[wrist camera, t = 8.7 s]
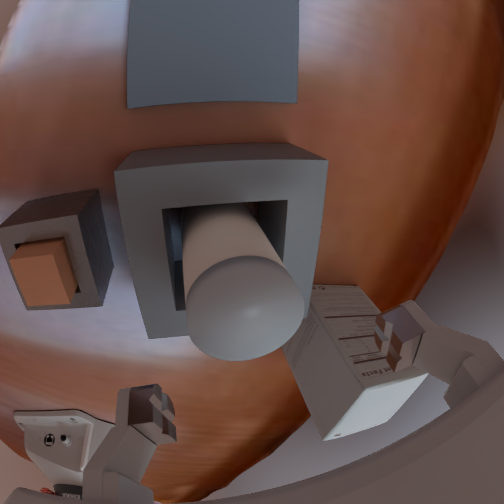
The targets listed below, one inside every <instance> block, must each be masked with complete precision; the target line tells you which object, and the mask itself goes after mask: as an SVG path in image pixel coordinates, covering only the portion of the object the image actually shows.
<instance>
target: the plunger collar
mask: <svg viewBox="0 0 504 504" xmlns="http://www.w3.org/2000/svg"><path fill="white" fill-rule="evenodd" d="M57 237H64V238H65V242H66V246H67V249H68V253H69V256H70V260H71V263H72V266H73V269H74V273H75V276H76V279H77V282H78V286H77V288H76V291H75V293H74V296H73V298H72V301H71V303H70V304H60V305H42V306H28V305H27V303H26V301H25V299H24V296H23V294H22V292H21V290H20V287H19V285H18V282H17V280H16V277H15V275H14V272H13V270H12V267H11V264H10V262H9V259H10V258H11V256H12V255H13V254H14V253H15V252H16V250H17V249H18V248H19V247H20V245H21V244H22V243H23V242H30V241H36V240H43V239H50V238H57ZM0 243H1V246H2V249H3V252H4V255H5V258H6V261H7V264H8V266H9V269H10V272H11V274H12V277H13V279H14V282H15V284H16V286H17V289H18V291H19V293H20V296H21V298H22V300H23V302H24V305H25V307H26V309H27V310H50V309H68V308H85V307H99V306H103V302H104V299H105V295H106V292H107V288H108V285H109V281H110V278H111V274H112V271H113V268H114V264H113V260H112V256H111V252H110V247H109V243H108V238H107V233H106V228H105V223H104V218H103V213H102V207H101V201H100V195H99V189H92V190H86V191H80V192H74V193H68V194H62V195H57V196H51V197H46V198H41V199H36V200H31V201H27V202H26V203H25V204H23V205H22V206H21V207H20V208H19V209H18V210H16V211H15V212H14V213H13V214H12V215H11V216H10V217H8V218H7V219H6V220H5V221H4V222H3V223H2V224H1V225H0Z"/></svg>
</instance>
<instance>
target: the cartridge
mask: <svg viewBox="0 0 504 504" xmlns="http://www.w3.org/2000/svg"><path fill="white" fill-rule="evenodd" d="M181 240H182V260H183V277H184V291H185V304H186V316H187V327H188V332H189V336H190V338H191V340H192V341H193V343H194V344H195V345H196V346H197V347H198V348H199V349H200V350H201V351H202V352H204V353H206V354H207V355H209V356H212V357H214V358H217V359H221V360H227V361H243V360H250V359H254V358H258V357H261V356H264V355H266V354H268V353H270V352H273V351H274V350H276V349H278V348H279V347H281V346H282V345H283V344H285V343H286V342H287V341H288V340H289V339H290V338H291V337H292V336H293V335H294V334H295V332H296V331H297V329H298V328H299V326H300V324H301V322H302V319H303V315H304V308H305V307H304V300H303V296H302V294H301V292H300V290H299V288H298V287H297V285H296V284H295V282H294V280H293V279H292V277H291V275H290V274H289V272H288V271H287V269H286V267H285V266H284V264H283V263H282V261H281V259H280V258H279V256H278V254H277V253H276V251H275V250H274V248H273V246H272V245H271V243H270V242H269V240H268V238H267V237H266V235H265V234H264V232H263V231H262V229H261V227H260V226H259V224H258V223H257V221H256V219H255V218H254V216H253V215H252V213H251V212H250V210H249V208H248V207H247V205H246V204H245V202H238V203H224V204H211V205H199V206H187V207H183V209H182V212H181Z"/></svg>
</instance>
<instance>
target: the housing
mask: <svg viewBox="0 0 504 504" xmlns="http://www.w3.org/2000/svg"><path fill="white" fill-rule="evenodd" d="M327 170H328V160H327V159H324V158H322V157H320V156H318V155H316V154H313V153H311V152H309V151H306V150H304V149H302V148H300V147H297V146H295V145H292V144H290V143H237V144H211V145H194V146H181V147H169V148H159V149H149V150H141V151H133V152H132V153H131V154H130V155H129V156H128V157H127V158H126V159H125V160H124V161H123V162H122V163H121V164H120V165H119V166H118V167H117V168H116V170H115V171H114V178H115V186H116V193H117V200H118V207H119V213H120V219H121V225H122V231H123V236H124V241H125V246H126V251H127V256H128V261H129V266H130V270H131V275H132V279H133V283H134V287H135V291H136V295H137V299H138V303H139V307H140V311H141V314H142V318H143V321H144V325H145V328H146V332H147V335H148V338H149V339H155V338H167V337H177V336H187V335H189V332H188V327H187V316H186V304H185V291H184V277H183V261H175V260H174V252H173V244H172V236H171V227H170V217H169V208H176V207H187V206H199V205H211V204H224V203H238V202H254V201H258V224H259V226H260V227H261V229H262V231H263V232H264V234H265V235H266V237H267V238H268V240H269V242H270V243H271V245H272V246H273V248H274V250H275V251H276V253H277V254H278V256H279V258H280V259H281V261H282V263H283V264H284V266H285V267H286V269H287V271H288V272H289V274H290V275H291V277H292V279H293V280H294V282H295V284H296V285H297V287H298V288H299V290H300V292H301V294H302V296H303V300H304V307H305V308H304V315H303V319H304V318H307V314H308V308H309V303H310V297H311V291H312V285H313V279H314V272H315V266H316V259H317V253H318V246H319V238H320V231H321V223H322V215H323V207H324V198H325V189H326V180H327Z"/></svg>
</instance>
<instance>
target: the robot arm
mask: <svg viewBox="0 0 504 504" xmlns="http://www.w3.org/2000/svg"><path fill="white" fill-rule="evenodd" d="M375 322H376V324H377V327H376V328H375V330H374V339H375V343H376V345H377V347H378V349H379V350H380V352H382V353H384V354H386V355H387V358H386V361H387V362H388V364H389V365H390V367H391V368H392V370H393V372H394V373H395V372H398V371H400V370H402V369H404V368H406V367H408V366H410V365H412V364H413V365H414V366H415V367H417V368H419V369H421V370H423V371H425V372H427V373H429V374H431V375H432V376H434V377H436V378H438V379H440V380H442V381H444V382H446V383H448V384H449V387H448V389H447V390H446V392H445V394H444V399H445V401H446V402H447V404H448V405H449V407H450V408H451V409H449V410H448V411H446V412H445V413H443V414H442V415H440V416H439V417H437V418H436V419H434V420H433V421H431V422H429V423H428V424H426V425H425V426H423V427H421V428H419V429H418V430H416V431H414V432H413V433H411V434H409V435H407V436H405V437H404V438H402V439H400V440H398V441H396V442H394V443H392V444H390V445H388V446H386V447H384V448H383V449H380V450H378V451H377V452H374V453H372V454H370V455H368V456H366V457H363V458H361V459H359V460H356V461H354V462H351V463H349V464H347V465H344V466H342V467H339V468H337V469H334V470H332V471H329V472H326V473H323V474H320V475H317V476H314V477H311V478H308V479H305V480H302V481H298V482H295V483H292V484H288V485H284V486H281V487H277V488H273V489H269V490H265V491H261V492H256V493H251V494H246V495H240V496H235V497H229V498H222V499H216V500H209V501H199V502H188V503H173V504H504V361H503V359H502V358H501V357H500V356H499V354H498V353H497V352H496V351H495V350H494V348H493V347H492V346H491V345H490V344H489V343H488V342H487V341H484V340H481V339H478V338H475V337H473V336H470V335H467V334H464V333H461V332H458V331H455V330H452V329H450V328H447V327H444V326H441V325H438V326H436V325H435V324H434V323H433V322H432V321H431V320H430V319H429V317H428V316H427V315H426V314H425V313H424V312H423V311H422V310H421V309H420V307H418V305H417V304H416V303H415V302H414V301H412V300H409V301H406V302H404V303H402V304H400V305H397V306H395V307H393V308H391V309H389V310H386V311H384V312H382V313H380V314H378V315H377V316H376V320H375ZM174 417H175V412H174V407H173V403H172V401H171V399H170V397H169V396H168V395H167V394H165V393H162V388H161V387H160V386H159V385H158V384H151V385H145V386H139V387H132V388H126V389H120V390H119V392H118V397H117V407H116V420H115V425H113V424H110V423H106V422H103V421H100V420H97V419H95V418H93V417H91V416H89V415H87V414H86V413H83V412H81V411H78V410H65V411H35V412H21V411H17V412H14V419H15V421H16V423H17V425H18V426H19V427H20V428H21V430H22V431H23V432H24V446H25V451H26V453H27V455H28V456H29V458H30V459H31V460H32V461H33V463H34V464H35V465H36V466H37V467H38V468H39V469H40V471H41V472H42V473H43V474H44V475H45V476H46V477H47V478H48V479H49V480H50V482H52V484H53V485H54V486H53V487H54V490H55V493H54V492H53V491H50V490H49V489H47V488H42V489H44V490H41V491H42V492H38V491H34V490H30V489H27V488H22V487H19V488H16V489H15V490H14V491H13V492H12V493H11V494H10V495H9V497H8V498H7V499H6V501H5V502H4V503H3V504H154V499H153V491H152V490H151V489H150V488H148V487H146V486H144V485H141V484H140V481H141V479H142V477H143V475H144V473H145V471H146V468H147V466H148V464H149V462H150V460H151V458H152V456H153V453H154V451H155V449H156V447H157V445H159V444H166V443H173V442H177V439H176V427H175V426H174V425H173V424H172V420H173V419H174Z"/></svg>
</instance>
